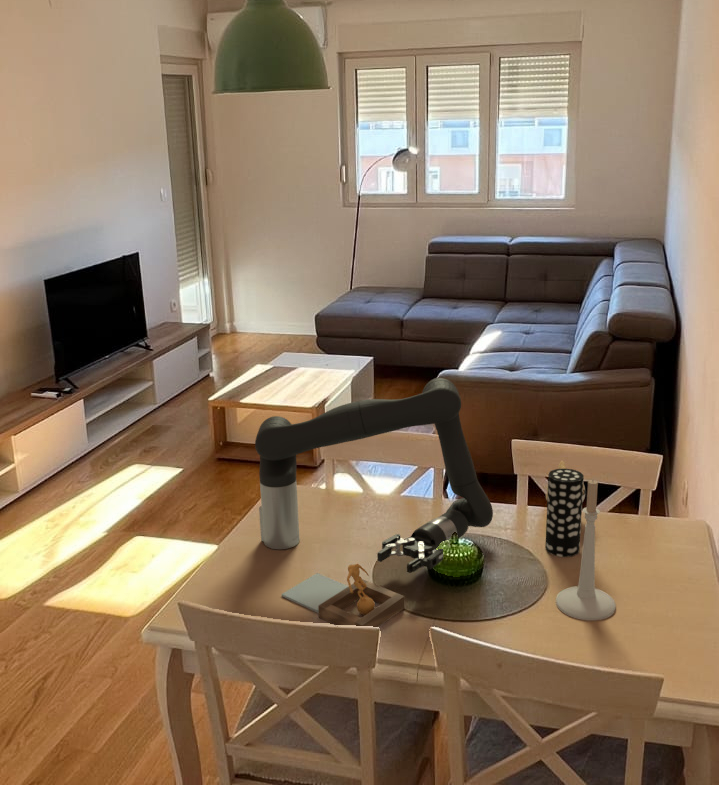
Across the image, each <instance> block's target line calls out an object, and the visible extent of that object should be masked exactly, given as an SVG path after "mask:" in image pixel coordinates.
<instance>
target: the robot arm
mask: <svg viewBox="0 0 719 785" xmlns="http://www.w3.org/2000/svg"><path fill="white" fill-rule="evenodd" d="M461 408H462V399H461V396H460V393H459V390H458V388H457V387H456V385H455V384H454V383H453V381H451V380H449V379H447V378H443V377H435V378H433V379H431V380H430V381H428V382H427V383H426V385H424V387H423V390H422V393H418V394H416V395H412V396H409V397H405V398H399V399H385V398H383V399H382V398H381V399H380V398H379V399H378V398H373V399H372V398H370V399H363V400H358V401H354V402H349V403H345V404H341V405H339V406H336V407H334V408H331V409H329V410H328V411H326V412H324V413H322V414H319V415H318V416H316V417H314V418H311V419H309V420H307V421H303V422H297V423H292V422H290V421H289V420H288V419H287V418H285V417H283V416H280V415H279V416H270V417H268V418H266V419H265V420H264V421H263V422H262V423H261V425H260V426H259V429H258V431H257V434H256V436H255V437H256V438H255V442H254V445H255V446H254V448H255V451H256V452H257V454H258V455H259V472H258V474H259V486H260V487H259V488H260V500H261V506H259V508H258V512H259V525H260V540H261V542H263V545H265V547H267V548H269V549H272V550H287V549H292V548H293V547H295V546H297V545H298V544H299V542H300V523H299V505H298V485H297V455H299V454H302V453H305V452H308V451H311V450H315V449H319V448H323V447H324V448H325V447H329V446H334V445H339V444H343V443H344V444H345V443H348V442H353V441H359V440H363V439H368V438H371V437H376V436H378V435H382V434H387V433H391V432H394V431H398V430H402V429H406V428H412V427H416V426H417V427H419V426H426V425H434V426H435V428H436V429H435V430H436V432H437V435H438V440H439V444H440V449H441V455H442V459H443V464H444V467H445V471H446V472H445V473H446V475H447V479H448V482H449V486H450V489H451V492H452V493H453V494H454V495H456V496H460V497H461V498H458V499H455V501H453V502H452V503H451V504H450V506H449V507H448V508H447V510H446V512H444V513H442V514H441V515H439V516H437V517H436V518H433V519H431V520H429V521H427V522H426V523H424V524H423V525H421V526H419V527H417V529H415V530H414V531H413V532H412V534H411V535H410V536H409V537H405V538H402V537H401V534H400V533H396V534H395V535H392V536H390V537H388V538H387V539H384V540H383V541H382V542H381V550H379V551H378V552H377V553H376V555H377V562H379V563H381V562H383V561H385V560H386V559H388V558H389V557H391V556H397V557H404V556H406V557H410V558H412V559H413V560H411V561H410V562H408V563H406V572H407V573H408V574H412V573H415V572H416V571H418V570H419V569H423V568H425V567H426V570H427V569H428V570H432V569H433V568H435V567H436V566H437V565H438V564H440V563H441V562H442V561H443V560H444V550H443V549H438V550H436V548H437V547H438V546H439V544H440V543H441V542H442V541H445V540H449V539H450V538H451V536H452V534H453V533H454V532H456V533H457V535H458V539H460V538H461V537H463V536H464V535H465V534H466V532H467V531H468V529H469V527H474V528H486V527H488V526H489V525H490V524H491V523H492V520H493V516H494V510H493V506H492V502H491V500H490V499H489V498H488V495H487V494H486V493H485V490H484V489H483V487H482V486H481V484H480V482H479V480H478V476H477V474H476V473H477V472H476V469H475V466H474V461H473V459H472V456H471V453H470V450H469V447H468V444H467V441H466V439H465V438H466V437H465V435H464V432H463V428H462V423H461V419H460V411H461ZM401 546H402V551H401ZM394 549H395V550H394Z"/></svg>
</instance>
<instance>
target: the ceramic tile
mask: <svg viewBox="0 0 719 785" xmlns="http://www.w3.org/2000/svg"><path fill="white" fill-rule="evenodd" d="M347 587H349V585H348V584H344V583H343V582H339V581H337V580H335V579H332V578H330V577H328V576H326V575H323V574H320V573H318V572H317V573H315V574H313V575H311V576H309V577H308V578H306V579H305V580H303V581H301V582H300V583H298V584H296V585H294V586H292V587H291V588H290V589H288V590H285V591H284V592H282V593H281V597H282V598H285V599H287V600H289V601H290V602H293V603H296V604H298V605H300V606H302V607H304V608H307V609H308V610H311V611H313V612H315V613H317V614H319V609H318V606H319V605H320V604H322V603H323V602H325V601H326V600H328V599H330V598H331V597H333V596H334V595H336V594H338V593H339V592H341V591H342V590H344V589H345V588H347Z"/></svg>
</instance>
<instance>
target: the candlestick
mask: <svg viewBox="0 0 719 785" xmlns="http://www.w3.org/2000/svg"><path fill="white" fill-rule="evenodd" d="M598 485H599V482H598V481H597V480H594V479H591V480H590V479H589V480H588V481H587V491H586V507H584V508H583V507H582V512H583V513H584V516H583V517H584V519H585V521H586V524H585V525H584V535H583V536H584V537H583V544H582V552H581V561H580V568H579V569H580V571H579V579H578V585H575V586H569V587H567V588H565V589H562V590H561V591H560V592H558V593H557V595H556V598H555V604H556V607H557V608H558V609H559V611H561V612H562V613H563V614H565V615H567V616H569V617H571V618H574V619H578V620H582V621H601V620H605V619H607V618H610V617H611V616H613V614H614V613H615V612H616V605H617V604H616V601H615V600H614V598H613V597H612V596H611V595H610V594H608V593H607V592H605V591H603V590H601V589H599V588H596V586H595V585H596V584H595V583H596V582H595V580H596V577H595V576H596V574H595V573H596V572H595V570H596V567H595V566H596V565H595V562H596V560H595V558H596V556H595V554H596V547H595V546H596V544H595V543H596V542H595V541H596V531H595V530H596V525H595V522H596V520H598V514H600V513H601V511H600V509H598V507H597V502H598V501H597V500H598Z"/></svg>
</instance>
